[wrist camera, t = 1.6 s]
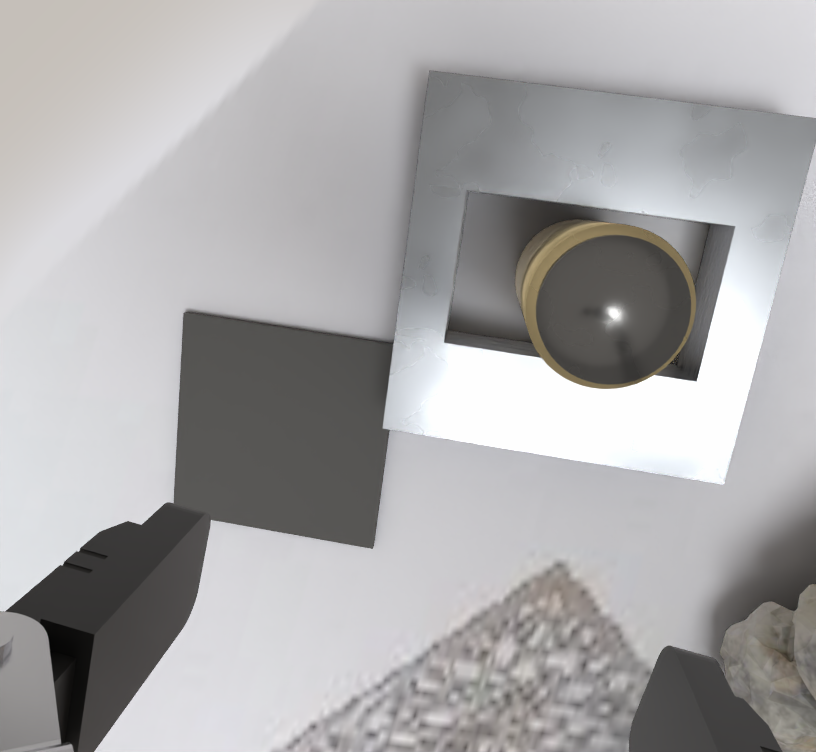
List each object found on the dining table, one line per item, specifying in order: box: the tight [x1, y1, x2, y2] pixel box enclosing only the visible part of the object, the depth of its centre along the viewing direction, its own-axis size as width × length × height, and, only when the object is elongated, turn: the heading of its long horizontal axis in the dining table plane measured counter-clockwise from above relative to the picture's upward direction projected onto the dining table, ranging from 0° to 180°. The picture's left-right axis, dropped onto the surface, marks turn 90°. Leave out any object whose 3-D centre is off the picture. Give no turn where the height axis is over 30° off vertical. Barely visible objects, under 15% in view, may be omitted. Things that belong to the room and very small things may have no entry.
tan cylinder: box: [515, 219, 696, 389], centre depth 25 cm, size 5×5×10 cm
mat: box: [174, 312, 394, 549], centre depth 32 cm, size 10×10×1 cm
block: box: [383, 71, 816, 485], centre depth 28 cm, size 14×14×3 cm
